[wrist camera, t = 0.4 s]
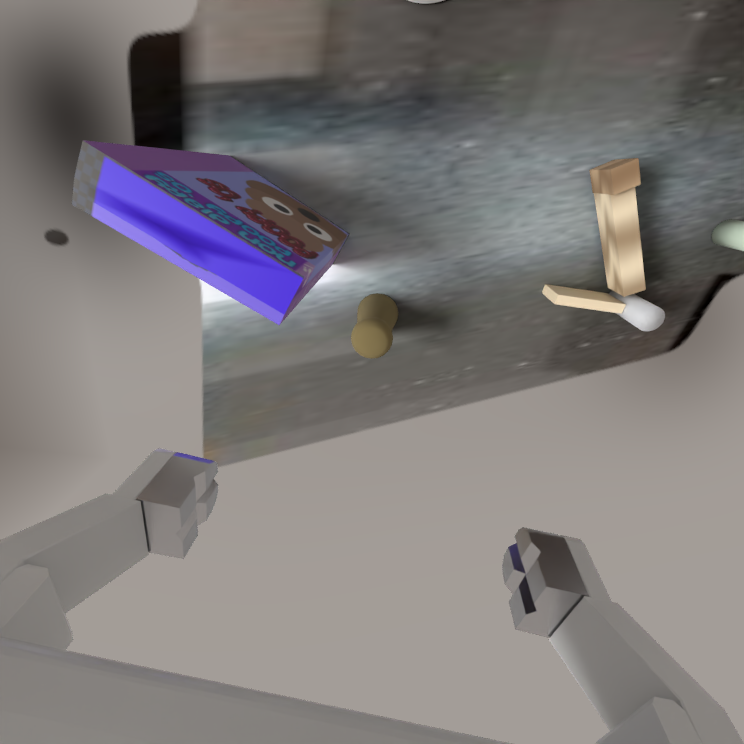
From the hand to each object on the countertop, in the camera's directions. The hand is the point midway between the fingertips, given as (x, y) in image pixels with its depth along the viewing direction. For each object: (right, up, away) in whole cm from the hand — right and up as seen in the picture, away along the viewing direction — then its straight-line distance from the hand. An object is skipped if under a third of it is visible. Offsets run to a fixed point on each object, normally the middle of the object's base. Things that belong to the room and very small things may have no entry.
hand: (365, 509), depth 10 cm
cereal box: (-11, +25, +40) cm, 48 cm away
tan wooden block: (+30, +21, +36) cm, 51 cm away
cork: (+1, +12, +45) cm, 46 cm away
